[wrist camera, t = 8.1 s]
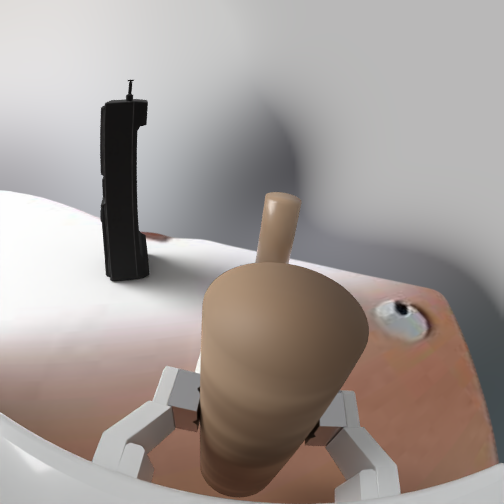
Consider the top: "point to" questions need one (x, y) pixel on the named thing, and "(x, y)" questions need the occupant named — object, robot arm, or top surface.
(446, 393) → the top surface
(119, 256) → the portable radio
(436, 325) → the top surface
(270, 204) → the tan wooden dowel
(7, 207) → the top surface
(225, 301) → the walnut pin
